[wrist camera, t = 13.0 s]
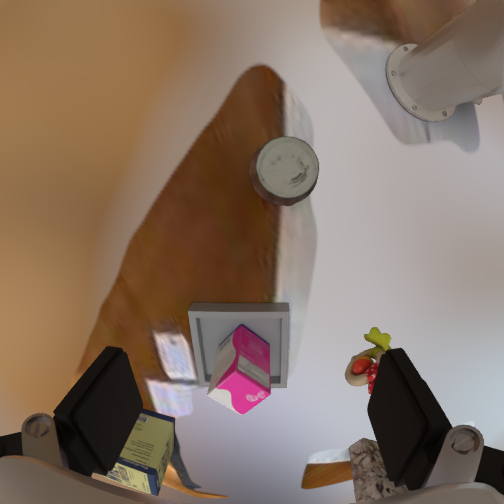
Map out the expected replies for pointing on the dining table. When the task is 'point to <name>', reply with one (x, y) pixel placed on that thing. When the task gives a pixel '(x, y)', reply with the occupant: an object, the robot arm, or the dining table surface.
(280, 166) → the sauce bottle
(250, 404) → the supplement box
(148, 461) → the protein box
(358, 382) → the bird rattle
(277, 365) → the slate tray
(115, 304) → the dining table surface
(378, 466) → the stone block
